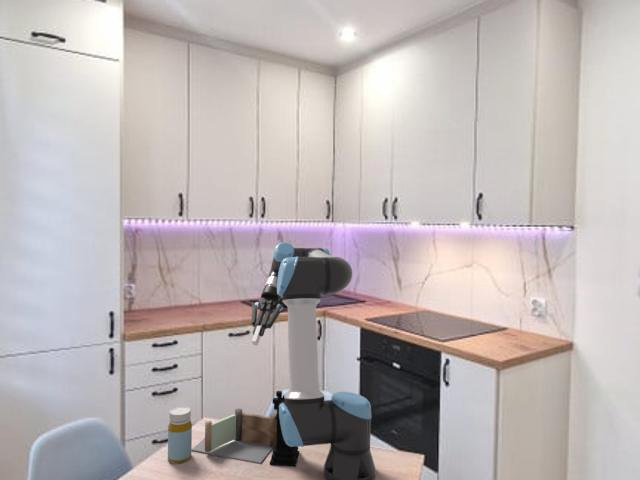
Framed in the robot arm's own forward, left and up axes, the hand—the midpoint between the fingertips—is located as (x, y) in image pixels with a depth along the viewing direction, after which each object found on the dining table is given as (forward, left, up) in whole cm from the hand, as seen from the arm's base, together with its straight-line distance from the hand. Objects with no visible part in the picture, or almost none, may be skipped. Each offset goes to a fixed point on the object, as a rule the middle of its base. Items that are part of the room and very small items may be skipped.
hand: (254, 343), depth 160 cm
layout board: (-1, +15, -30) cm, 34 cm away
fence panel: (+3, +19, -29) cm, 34 cm away
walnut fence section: (-6, +12, -30) cm, 33 cm away
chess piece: (-19, +18, -30) cm, 40 cm away
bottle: (+12, +28, -30) cm, 43 cm away
